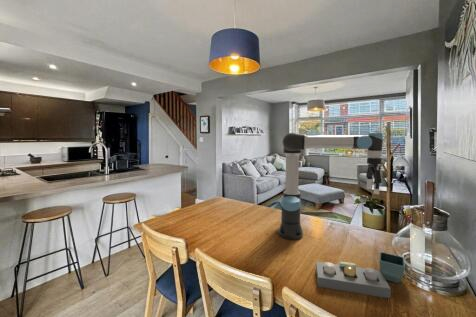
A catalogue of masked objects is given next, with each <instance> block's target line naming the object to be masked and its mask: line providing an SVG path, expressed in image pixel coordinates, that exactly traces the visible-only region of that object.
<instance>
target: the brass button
mask: <svg viewBox="0 0 476 317" xmlns="http://www.w3.org/2000/svg"><path fill="white" fill-rule="evenodd" d="M344 276H346V277H352V278H356V268H355V267H353V266H351V265H345V266H344Z"/></svg>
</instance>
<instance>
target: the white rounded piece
mask: <svg viewBox="0 0 476 317" xmlns="http://www.w3.org/2000/svg"><path fill="white" fill-rule="evenodd" d="M334 264H335V263H332V262H329V261H328V262H324V273H326V274H333V275H335V265H334Z"/></svg>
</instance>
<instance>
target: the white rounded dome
mask: <svg viewBox="0 0 476 317" xmlns="http://www.w3.org/2000/svg"><path fill="white" fill-rule="evenodd" d="M365 268H366V269H365V278H366V280H372V281H377V276H378V272H377V271H376V270H377V269H374V268H372V267H365Z"/></svg>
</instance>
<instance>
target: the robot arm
mask: <svg viewBox="0 0 476 317" xmlns="http://www.w3.org/2000/svg"><path fill="white" fill-rule="evenodd" d="M383 137H384V134H383V133H382V132H379V131H378V132H377V131H371V132H368V134H367V135H366V134H365V135H364V134H362V135H306V134H304V133H301V134H300V133H295V132H290V133H289V132H288V133H287V134H285V135H284V137H283V139H282V146H283V155H284V156H285V190H284V191H283V194H282V195H283V197H282V199H281V204H280V205H281V216H280V217H281V222H280V225H279V228H278V235H279V236H280V237H281V238H283V239H286V240H299V239H302V238H303V236H304V231H303V229H302V226H301V207H302V200H301V199H302V198H301V194H302V193H301V191H299V177H300V174H299V173H300V172H299V170H300V169H299V166H300V165H299V164H300V163H299V161H300V157H299V156H300V155H301V154H302V151H306V150H307V149H342V150H343V149H354V150H355V149H356V150H359V149H361V150H367V152H366V153H367V158H366V164H367V171H366V176H365V177H366V189H367V190H372V188H373V194H374V195H380V184H382V176H381V166H379V165H381V164H382V161H383V160H382V156H383V153H384V152H383V141H384V138H383ZM373 180H374V181H373ZM372 185H373V186H372Z"/></svg>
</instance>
